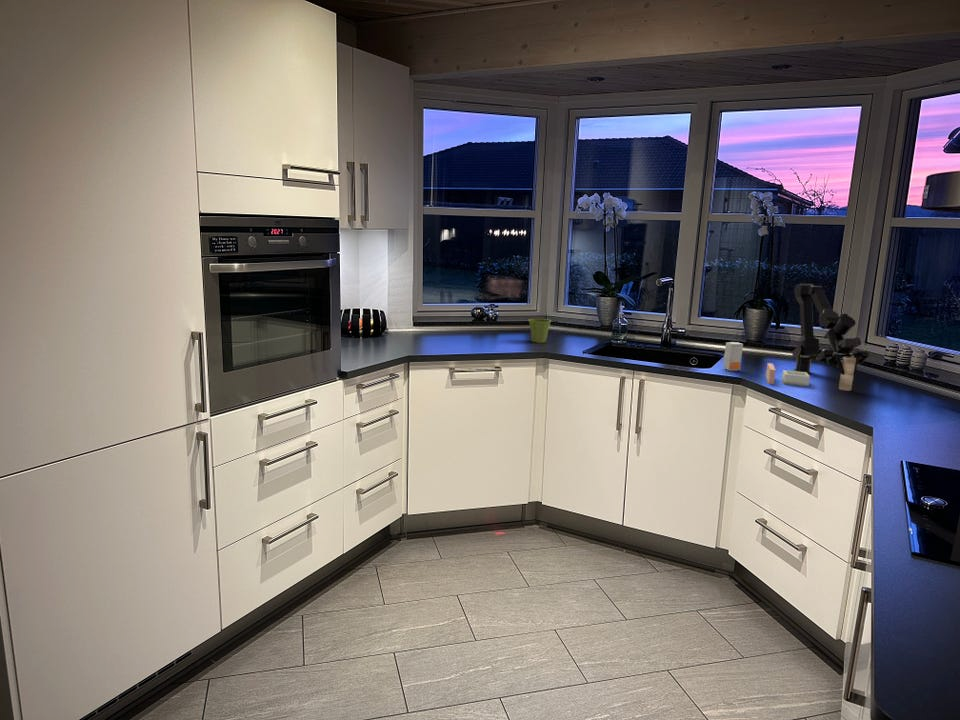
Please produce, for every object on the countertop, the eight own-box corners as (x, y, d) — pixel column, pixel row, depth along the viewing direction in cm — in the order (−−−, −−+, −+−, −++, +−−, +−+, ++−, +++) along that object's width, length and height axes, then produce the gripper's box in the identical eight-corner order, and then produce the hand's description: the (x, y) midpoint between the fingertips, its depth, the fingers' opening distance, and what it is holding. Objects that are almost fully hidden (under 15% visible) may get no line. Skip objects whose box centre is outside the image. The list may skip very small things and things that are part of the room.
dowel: (837, 387, 271) (842, 356, 268) (849, 389, 269) (854, 357, 267) (839, 390, 266) (844, 357, 264) (852, 391, 265) (857, 359, 263)
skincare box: (728, 370, 295) (731, 343, 292) (722, 368, 299) (725, 342, 296) (740, 370, 296) (743, 343, 294) (734, 368, 300) (737, 342, 298)
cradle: (781, 379, 281) (783, 370, 280) (805, 381, 278) (806, 372, 277) (784, 383, 272) (785, 374, 272) (808, 386, 270) (809, 376, 269)
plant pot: (540, 339, 355) (541, 318, 353) (554, 343, 346) (556, 321, 344) (522, 340, 349) (523, 319, 346) (536, 344, 339) (538, 322, 337)
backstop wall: (765, 377, 285) (767, 363, 284) (770, 377, 284) (772, 363, 283) (768, 384, 272) (770, 369, 271) (773, 384, 271) (775, 370, 270)
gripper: (825, 329, 266) (837, 362, 258) (870, 330, 268) (883, 363, 259) (811, 345, 276) (822, 377, 267) (855, 346, 277) (867, 379, 268)
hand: (849, 374), depth 265 cm, fingers closed on dowel, 4 cm apart
